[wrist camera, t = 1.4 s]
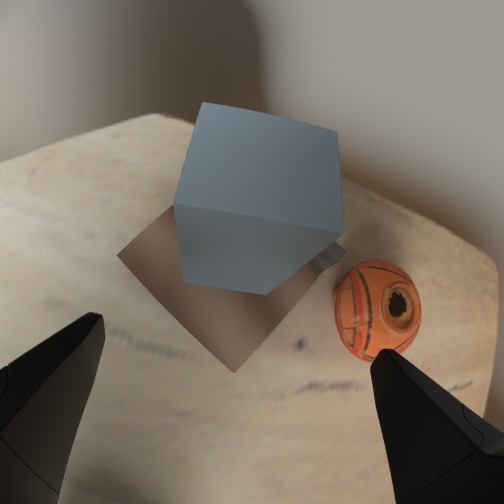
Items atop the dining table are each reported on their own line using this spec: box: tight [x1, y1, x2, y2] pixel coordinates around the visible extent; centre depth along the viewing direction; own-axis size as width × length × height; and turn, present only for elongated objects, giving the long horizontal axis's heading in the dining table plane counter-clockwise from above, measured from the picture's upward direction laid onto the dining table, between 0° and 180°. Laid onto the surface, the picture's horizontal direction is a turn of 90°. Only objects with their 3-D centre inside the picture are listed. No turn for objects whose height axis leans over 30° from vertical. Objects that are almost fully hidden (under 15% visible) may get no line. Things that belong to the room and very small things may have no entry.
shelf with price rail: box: [117, 205, 346, 373], centre depth 21 cm, size 11×12×4 cm
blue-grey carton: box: [173, 102, 343, 295], centre depth 16 cm, size 5×6×12 cm
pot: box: [333, 259, 422, 362], centre depth 21 cm, size 8×8×7 cm
